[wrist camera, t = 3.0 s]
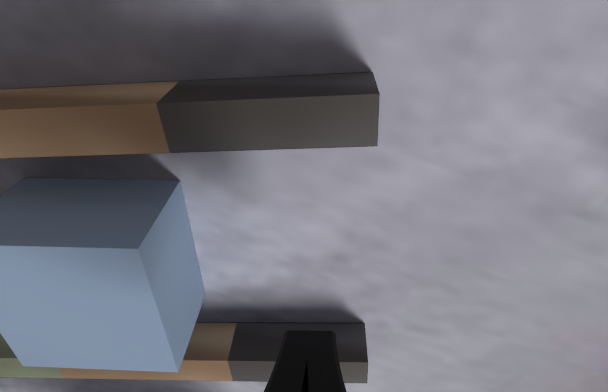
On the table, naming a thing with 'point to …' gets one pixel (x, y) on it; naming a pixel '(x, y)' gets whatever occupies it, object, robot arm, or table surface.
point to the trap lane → (198, 138)
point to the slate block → (98, 274)
